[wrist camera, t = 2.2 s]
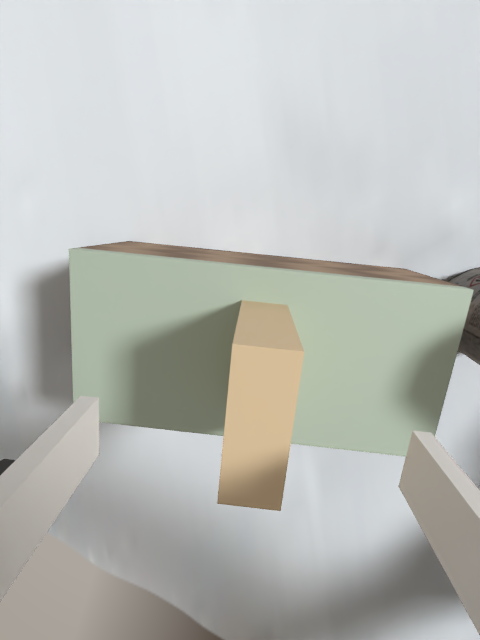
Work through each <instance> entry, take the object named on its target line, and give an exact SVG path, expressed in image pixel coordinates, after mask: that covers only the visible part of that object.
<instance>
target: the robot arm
mask: <svg viewBox="0 0 480 640" xmlns="http://www.w3.org/2000/svg"><path fill="white" fill-rule="evenodd" d="M98 456H99V397H89V396H80V397H79V398H78V399H77V400H76V401H75V402H74V403H73V404H72V405H71V406H70V407H69V408H68V409H67V410H66V411H65V412H64V413H63V414H62V415H61V416H60V417H59V418H58V419H57V420H56V421H55V422H54V423H53V424H52V425H51V426H50V427H49V428H48V429H47V430H46V431H45V432H44V433H43V434H42V435H41V436H40V437H39V438H38V439H37V440H36V441H35V442H34V443H33V444H32V445H31V446H30V447H29V448H28V449H26V450H25V451H24V452H23V453H22V454H21V455H20V456H19V457H18V458H17V459H16V460H9V459H3V460H1V461H0V602H1V600H2V598H3V597H4V596H5V594H6V593H7V591H8V589H9V588H10V587H11V585H12V584H13V582H14V581H15V579H16V578H17V576H18V575H19V573H20V572H21V570H22V569H23V567H24V566H25V564H26V563H27V561H28V560H29V558H30V557H31V555H32V554H33V552H34V551H35V549H36V548H37V546H38V545H39V543H40V542H41V540H42V539H43V537H44V536H45V534H46V533H47V532H48V530H49V529H50V527H51V526H52V524H53V523H54V521H55V520H56V518H57V517H58V515H59V514H60V512H61V511H62V509H63V508H64V506H65V505H66V503H67V502H68V500H69V499H70V497H71V496H72V494H73V493H74V491H75V490H76V488H77V487H78V485H79V484H80V482H81V481H82V479H83V478H84V476H85V475H86V473H87V472H88V470H89V469H90V467H91V466H92V464H93V463H94V461H95V460H96V459H97V457H98ZM399 488H400V490H401V492H402V494H403V495H404V497H405V499H406V501H407V503H408V505H409V507H410V508H411V510H412V512H413V514H414V516H415V518H416V519H417V521H418V523H419V525H420V527H421V529H422V530H423V532H424V534H425V536H426V538H427V540H428V541H429V543H430V545H431V547H432V549H433V551H434V552H435V554H436V556H437V558H438V560H439V562H440V563H441V565H442V567H443V569H444V571H445V573H446V574H447V576H448V578H449V580H450V582H451V584H452V585H453V587H454V589H455V591H456V593H457V595H458V596H459V598H460V600H461V602H462V604H463V606H464V607H465V609H466V611H467V613H468V615H469V617H470V618H471V620H472V622H473V624H474V626H475V628H476V629H477V631H478V633H479V635H480V490H479V489H478V488H477V487H476V485H475V484H474V483H473V482H472V481H471V479H470V478H469V477H468V476H467V475H466V474H465V472H464V471H463V470H462V469H461V468H460V466H459V465H458V464H457V463H456V462H455V460H454V459H453V458H452V457H451V456H450V454H449V453H448V452H447V451H446V450H445V449H444V447H443V446H442V445H441V444H440V443H439V441H438V440H437V439H436V438H435V437H434V435H433V434H432V433H431V432H421V431H412V435H411V439H410V443H409V447H408V451H407V455H406V459H405V463H404V467H403V471H402V475H401V479H400V483H399Z"/></svg>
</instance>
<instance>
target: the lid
mask: <svg viewBox="0 0 480 640" xmlns="http://www.w3.org/2000/svg"><path fill="white" fill-rule="evenodd" d="M69 272H70V308H71V344H72V380H73V403H74V402H75V401H76V400H77V399H78V398H79V397H80V396H89V397H99V422H103V423H112V424H121V425H130V426H139V427H148V428H156V429H165V430H174V431H183V432H192V433H201V434H210V435H219V436H224V438H223V449H222V459H221V470H220V481H219V491H218V502H217V504H226V505H234V506H243V507H251V508H260V509H268V510H277V511H281V504H282V498H283V491H284V484H285V478H286V471H287V464H288V458H289V451H290V444H299V445H308V446H316V447H325V448H334V449H343V450H352V451H361V452H370V453H379V454H387V455H396V456H405V457H406V455H407V451H408V447H409V443H410V439H411V435H412V431H421V432H431V433H432V434H433V435H434V437H435V434H436V430H437V426H438V422H439V419H440V415H441V411H442V407H443V404H444V400H445V396H446V392H447V389H448V385H449V381H450V377H451V374H452V370H453V366H454V362H455V358H456V355H457V351H458V347H459V343H460V340H461V336H462V332H463V328H464V325H465V321H466V317H467V313H468V310H469V306H470V302H471V298H472V295H473V291H474V290H473V289H469V288H466V287H461V286H452V285H442V284H432V283H422V282H412V281H402V280H392V279H382V278H372V277H362V276H353V275H343V274H333V273H323V272H313V271H303V270H293V269H283V268H273V267H263V266H254V265H244V264H234V263H224V262H214V261H204V260H194V259H184V258H174V257H165V256H155V255H145V254H135V253H125V252H115V251H105V250H95V249H85V248H72V249H69Z"/></svg>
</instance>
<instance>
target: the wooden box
mask: <svg viewBox="0 0 480 640" xmlns="http://www.w3.org/2000/svg"><path fill="white" fill-rule="evenodd" d="M80 248H85V249H95V250H105V251H115V252H125V253H135V254H145V255H155V256H165V257H174V258H184V259H194V260H204V261H214V262H224V263H234V264H244V265H254V266H263V267H273V268H283V269H293V270H303V271H313V272H323V273H333V274H343V275H353V276H362V277H372V278H382V279H392V280H402V281H412V282H422V283H432V284H442V285H452V286H459V285H456V284H453V283H450V282H446V281H443V280H440V279H436V278H433V277H430V276H427V275H423V274H420V273H417V272H413V271H410V270H407V269H401V268H391V267H381V266H371V265H361V264H351V263H341V262H331V261H321V260H312V259H302V258H292V257H282V256H272V255H262V254H252V253H242V252H232V251H222V250H212V249H202V248H192V247H182V246H172V245H162V244H152V243H142V242H132V241H126V242H119V243H111V244H103V245H95V246H87V247H80ZM461 287H463V286H461Z"/></svg>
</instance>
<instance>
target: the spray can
mask: <svg viewBox="0 0 480 640" xmlns="http://www.w3.org/2000/svg"><path fill="white" fill-rule="evenodd" d="M448 282H450V283H453V284H456V285H459V286H463V287H466V288H469V289H473V290H474V291H473V295H472V298H471V302H470V306H469V310H468V313H467V317H466V321H465V325H464V328H463V332H462V336H461V340H460V343H459V347H458V351H460V352H462V353H463V354H464V355H466V356H468V357H469V358H471V359H472V360H473V361H475V362H476V363H478V364H479V365H480V267H479V268H475V269H472V270H469V271H467V272H465V273H463V274H461V275H459V276H457V277H455V278H453V279H452V280H450V281H448Z"/></svg>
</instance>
